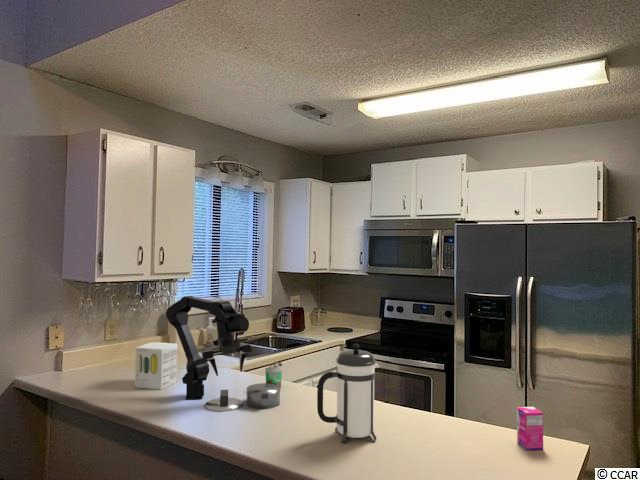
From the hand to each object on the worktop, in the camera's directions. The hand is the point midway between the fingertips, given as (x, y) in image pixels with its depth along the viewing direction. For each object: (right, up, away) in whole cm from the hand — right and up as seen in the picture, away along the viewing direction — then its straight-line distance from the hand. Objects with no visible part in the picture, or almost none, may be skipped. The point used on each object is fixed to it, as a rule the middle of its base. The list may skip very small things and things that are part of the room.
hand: (229, 373), depth 183 cm
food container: (+16, -13, +23) cm, 31 cm away
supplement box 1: (-37, -12, +26) cm, 47 cm away
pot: (+13, -12, +2) cm, 18 cm away
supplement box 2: (+101, -12, -37) cm, 108 cm away
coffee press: (+46, -12, -31) cm, 56 cm away
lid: (-2, -12, -1) cm, 12 cm away
